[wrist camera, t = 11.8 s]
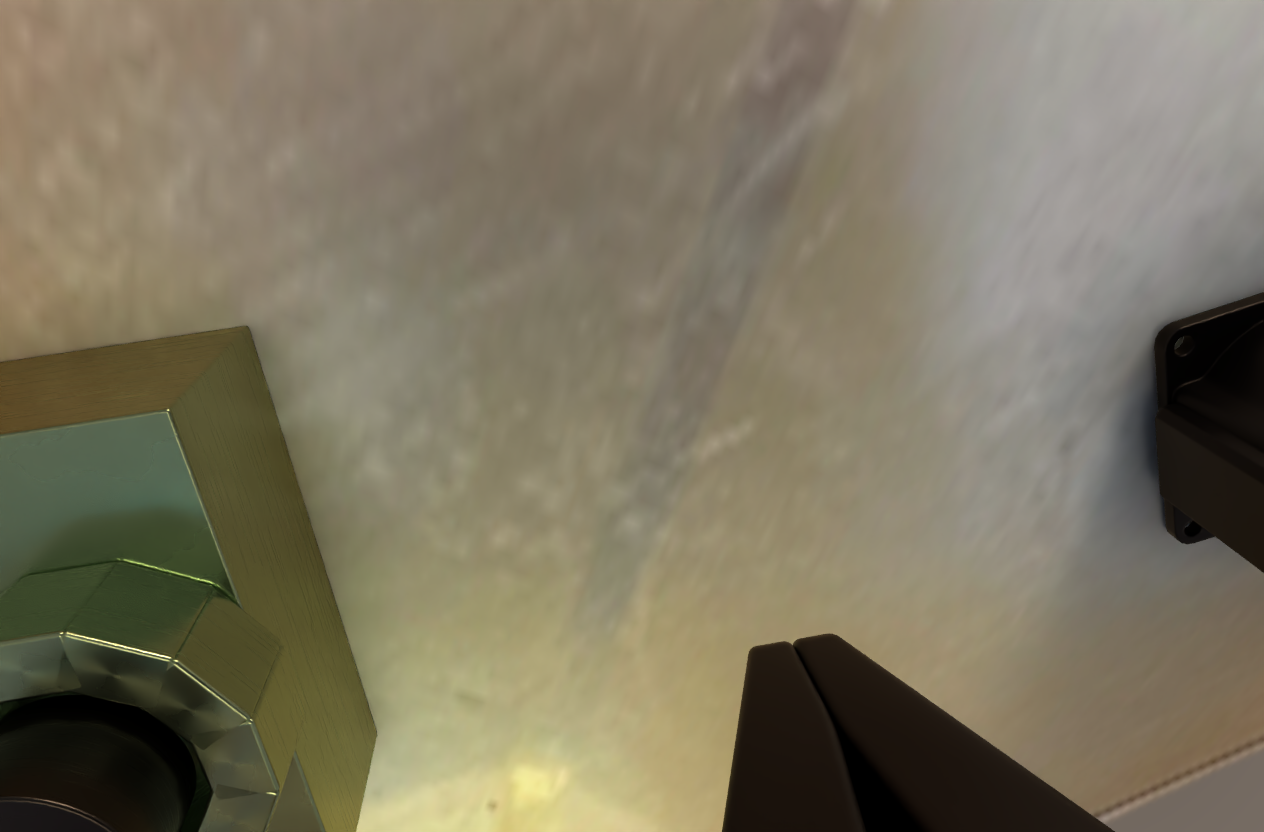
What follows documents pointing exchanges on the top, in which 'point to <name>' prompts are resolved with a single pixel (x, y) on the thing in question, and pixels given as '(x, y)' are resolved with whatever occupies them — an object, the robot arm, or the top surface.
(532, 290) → the top surface
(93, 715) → the black short cylinder
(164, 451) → the push button base
